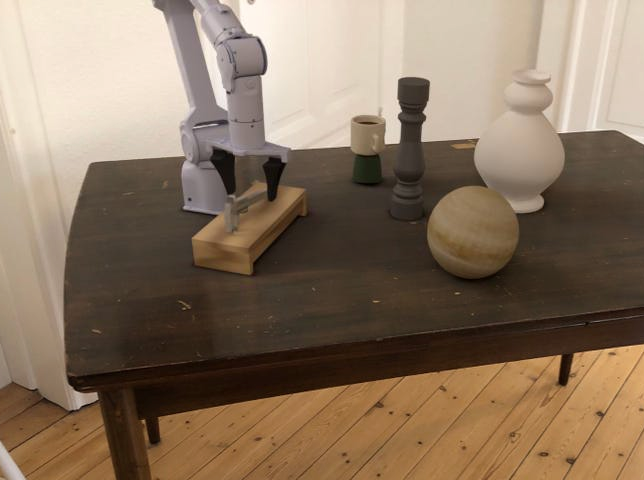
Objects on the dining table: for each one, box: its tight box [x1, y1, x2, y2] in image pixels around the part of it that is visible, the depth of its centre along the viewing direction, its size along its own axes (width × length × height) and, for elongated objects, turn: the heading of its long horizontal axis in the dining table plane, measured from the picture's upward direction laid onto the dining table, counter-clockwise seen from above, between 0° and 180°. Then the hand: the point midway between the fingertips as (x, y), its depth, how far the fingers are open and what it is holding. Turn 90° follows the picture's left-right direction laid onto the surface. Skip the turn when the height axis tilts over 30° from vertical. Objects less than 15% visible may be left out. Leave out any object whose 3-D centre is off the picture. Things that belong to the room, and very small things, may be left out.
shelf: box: [191, 181, 308, 276], centre depth 131 cm, size 10×26×5 cm, turn 165°
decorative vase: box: [473, 68, 566, 214], centre depth 145 cm, size 18×18×25 cm
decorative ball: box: [426, 185, 520, 280], centre depth 121 cm, size 15×15×15 cm
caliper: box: [225, 187, 268, 233], centre depth 128 cm, size 20×1×6 cm, turn 166°
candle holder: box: [390, 76, 431, 221], centre depth 137 cm, size 6×6×25 cm
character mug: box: [350, 114, 387, 185], centre depth 153 cm, size 11×7×13 cm, turn 24°
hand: (251, 196), depth 128 cm, fingers open, 7 cm apart
